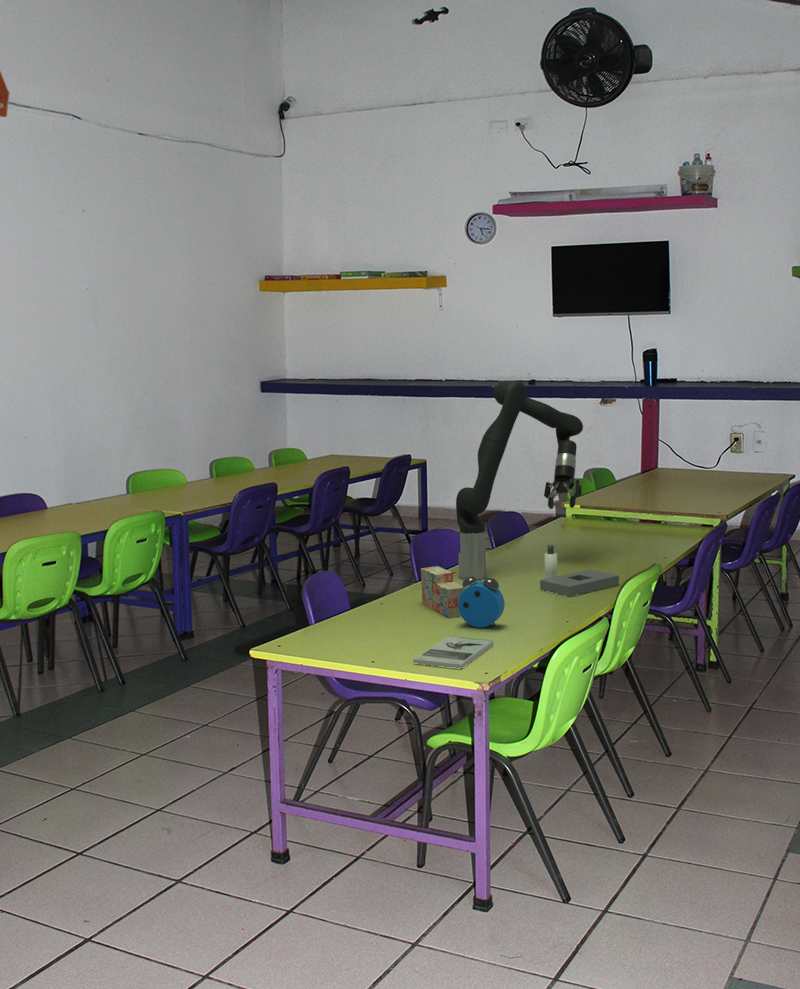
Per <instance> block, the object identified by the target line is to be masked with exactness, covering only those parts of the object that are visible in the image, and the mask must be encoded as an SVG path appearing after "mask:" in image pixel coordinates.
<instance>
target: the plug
mask: <svg viewBox="0 0 800 989" xmlns="http://www.w3.org/2000/svg"><path fill="white" fill-rule="evenodd" d="M557 576H558V553H557V552H555V545H553V544H548V545H547V552H545V553H544V579H547V578H552V577H557Z"/></svg>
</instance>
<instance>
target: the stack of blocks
mask: <svg viewBox="0 0 800 989" xmlns="http://www.w3.org/2000/svg"><path fill="white" fill-rule="evenodd" d="M420 577H421V578H420V579H421V581H420V582H421V602H422V605H424V606H426V607H428V608H429V609H431V610H433V611H436V612H437V613H439V614H441V615H443V616H444V617H446V618H449V619H450V618H455V617H461V615H460V613H459V610H458V599H459V596H460V594H461V593H462V591H463V590H464V589H465V588H466V587H465V588H463V587H462V584H460V583H457V582H455V581H454V574H453V572H452V571H449V570H447V569H445V568H443V567H440V566H438V565H436V566H429V567H422V568H420Z"/></svg>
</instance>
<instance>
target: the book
mask: <svg viewBox="0 0 800 989" xmlns="http://www.w3.org/2000/svg"><path fill="white" fill-rule="evenodd" d="M490 647H491V648H492V647H494V640H492V639H491V640H490V639H481V638H480V639H479V638H472V637H462V636H452V635H448V636H446V637H445V638H443V639H442V640H440V641H438V642H437V643H436V644H434V645H432V646H431V647H430V648H428V649H426V650H425V651H424V652H422V653H420V654H419V655H417V656H416V657H414V658H413V664H414V663H418V664H425V665H433V666H444V667H454V668H455V667H456V668H462V667H464V666H465V665H466V664H468V663H469V662H471V661H472V660H473V661H475V660H476V659H477V658H476V657H478V656H479V655H480V656H482V655H483V654H484V653H486V652H487V651H488V650H489V648H490ZM487 649H488V650H487ZM486 650H487V651H486ZM485 651H486V652H485ZM483 652H484V653H483ZM482 653H483V654H482ZM481 654H482V655H481ZM480 656H479V657H480ZM479 657H478V658H479ZM475 658H476V659H475ZM474 659H475V660H474ZM473 661H472V662H473ZM472 662H471V663H472ZM469 664H470V663H469ZM469 664H468V665H469ZM433 666H432V667H433ZM465 667H466V666H465ZM465 667H464V668H465Z"/></svg>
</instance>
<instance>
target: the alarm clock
mask: <svg viewBox="0 0 800 989" xmlns="http://www.w3.org/2000/svg"><path fill="white" fill-rule="evenodd" d="M461 586H462V587H463V588H465V589H464V590H463V591H462V593H461V594H460V596H459V599H458V610H459V613H460V615H461V616H460V617H461V618H462V619H463V621H464V622H466V623H467V624H468V625H469V626H472V627H474V628H477V629H478V628H479V629H480V628H487V627H489V626H491V625H492V624H493V625H494V626H495V625H496V621H497V620H499V619H500V618H501V617H502V615H503V613H504V610H505V598H504V595H503V593H502V592H501V590H500V589H499V587H500V584H499V582H498V580H496V579H495V578H493V577H486V578H484V580H483V579H479V580H477V579H476V578H475V577H468V578H467V577H466V579H463V581H462V584H461Z"/></svg>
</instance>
